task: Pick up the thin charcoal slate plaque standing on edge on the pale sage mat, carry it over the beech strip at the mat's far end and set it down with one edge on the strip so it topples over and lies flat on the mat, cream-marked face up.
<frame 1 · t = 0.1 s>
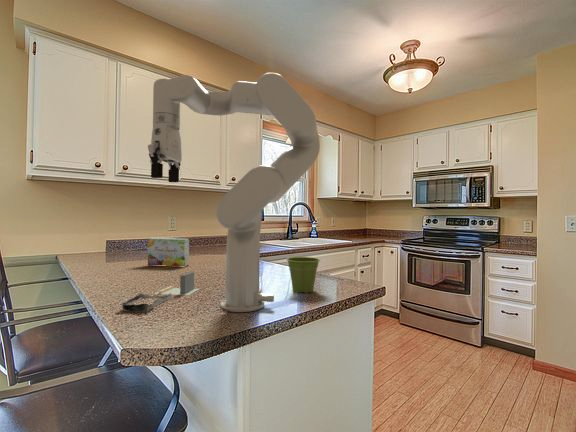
hand: (165, 180, 91), 37 cm above the counter, tool pointing down, fingers open, 9 cm apart
slate plaque: (187, 291, 103), point 1 cm above the counter, touching mat
plant pot: (303, 291, 108), on the counter
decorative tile: (145, 307, 88), on the counter
mat: (177, 292, 103), on the counter
snack box: (168, 266, 162), on the counter
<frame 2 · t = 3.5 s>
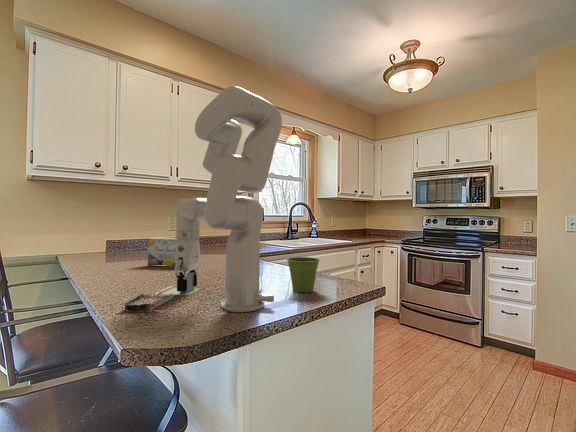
hand: (187, 288, 103), 2 cm above the counter, tool pointing down, fingers closed on slate plaque, 7 cm apart
slate plaque: (187, 291, 103), point 1 cm above the counter, touching gripper, mat
everything else where it was.
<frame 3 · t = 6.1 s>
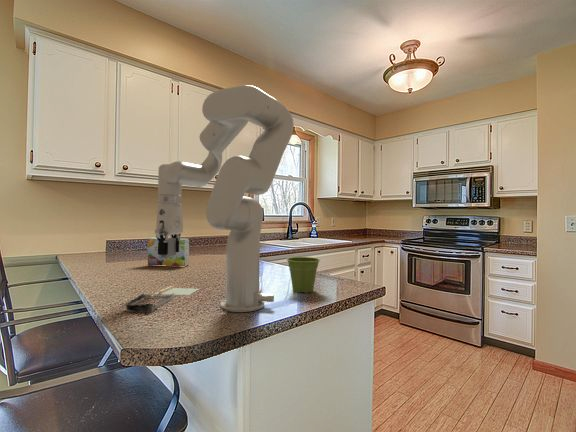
hand: (168, 252, 104), 13 cm above the counter, tool pointing down, fingers closed on slate plaque, 7 cm apart
slate plaque: (168, 256, 104), point 12 cm above the counter, touching gripper
when the fingers open (3 cm above the counter, at t = 8.7 s): slate plaque moves 1 cm and tips over, resting on mat.
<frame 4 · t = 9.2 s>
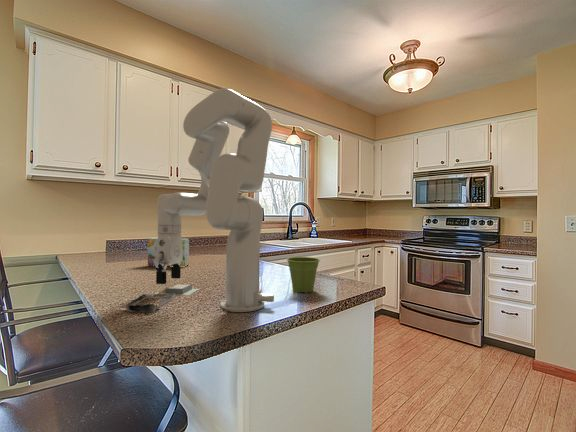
hand: (168, 280, 104), 4 cm above the counter, tool pointing down, fingers open, 9 cm apart
slate plaque: (170, 288, 103), point 1 cm above the counter, tilted 90°, touching mat
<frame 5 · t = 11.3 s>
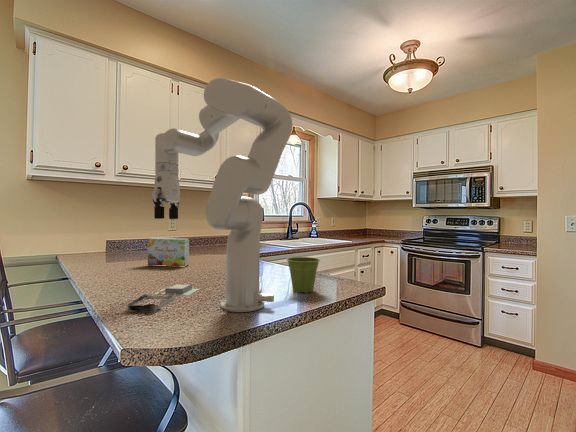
hand: (166, 218, 106), 25 cm above the counter, tool pointing down, fingers open, 9 cm apart
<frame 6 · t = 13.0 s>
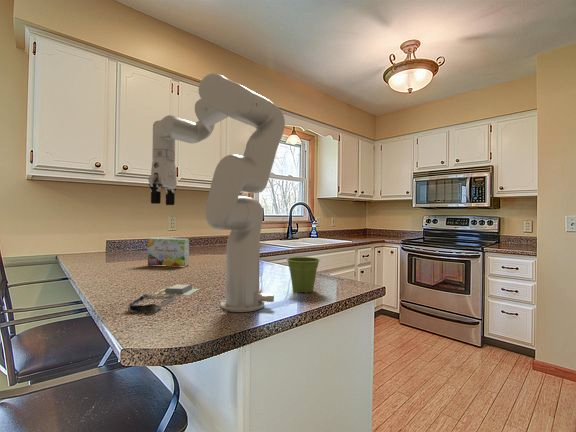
hand: (163, 204, 109), 30 cm above the counter, tool pointing down, fingers open, 9 cm apart
at the end: slate plaque tilted 90°; slate plaque inside the target area on the mat (2.4 cm from its centre), point 1.4 cm above the mat's base; the gripper is holding nothing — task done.
